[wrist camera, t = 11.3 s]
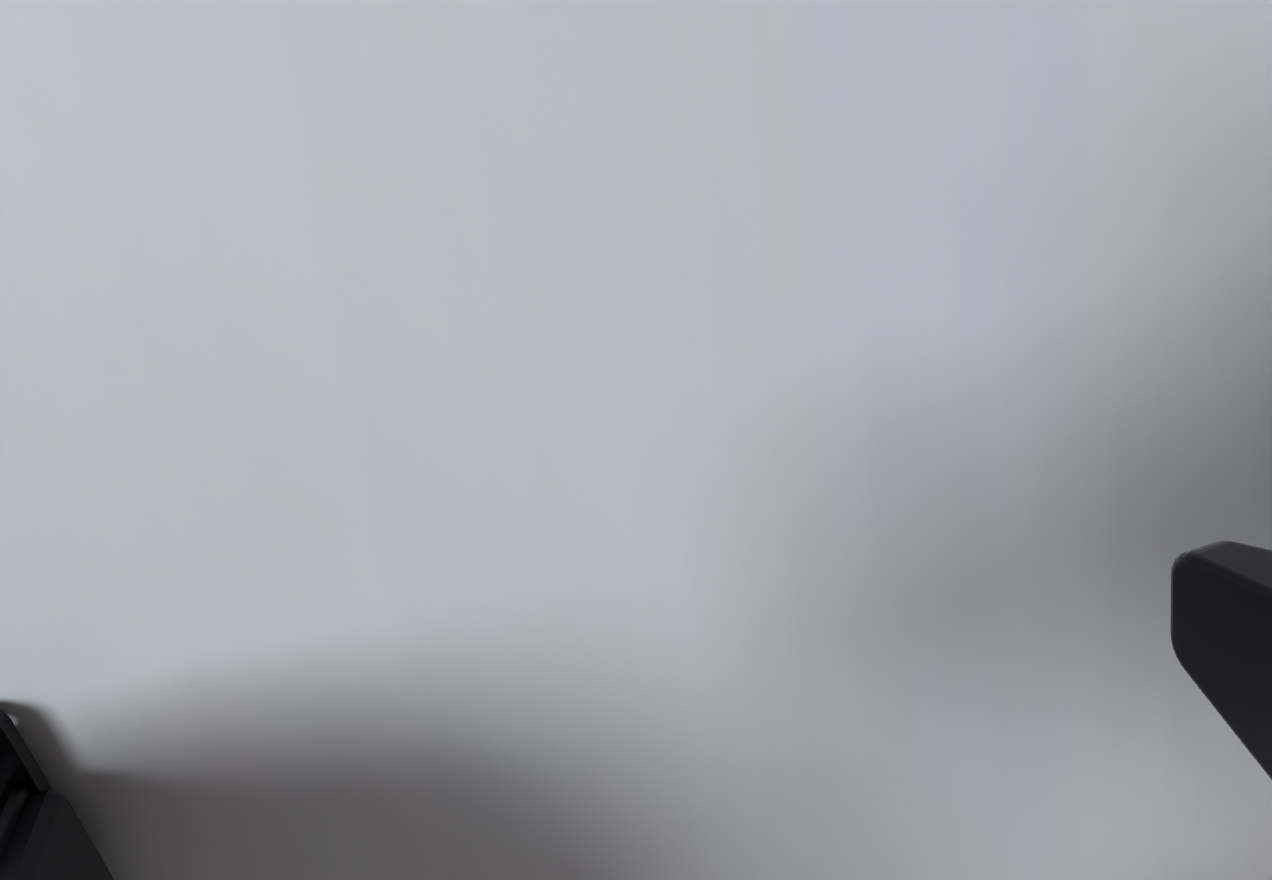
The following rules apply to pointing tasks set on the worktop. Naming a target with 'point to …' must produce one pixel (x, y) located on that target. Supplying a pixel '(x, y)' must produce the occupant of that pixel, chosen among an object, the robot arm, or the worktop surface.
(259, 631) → the worktop surface
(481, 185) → the worktop surface
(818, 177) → the worktop surface
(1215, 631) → the robot arm
